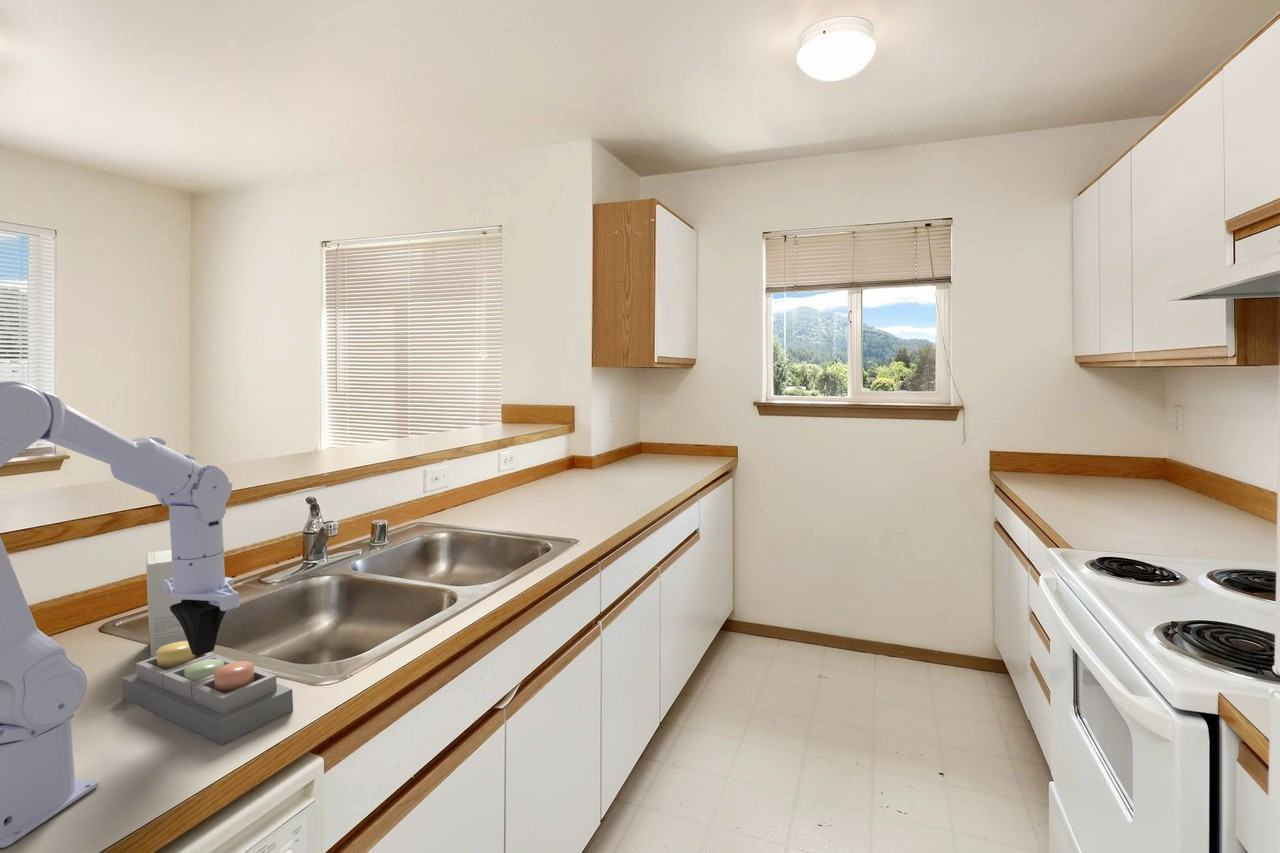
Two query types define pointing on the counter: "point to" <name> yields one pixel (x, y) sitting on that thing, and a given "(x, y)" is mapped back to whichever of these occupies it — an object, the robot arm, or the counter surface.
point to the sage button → (202, 669)
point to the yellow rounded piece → (174, 654)
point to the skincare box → (161, 603)
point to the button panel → (207, 699)
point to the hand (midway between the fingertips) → (203, 652)
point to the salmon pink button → (233, 676)
